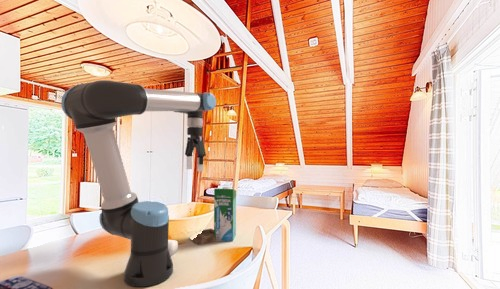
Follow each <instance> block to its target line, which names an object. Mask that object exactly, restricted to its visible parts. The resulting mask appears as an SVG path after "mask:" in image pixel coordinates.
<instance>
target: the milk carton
mask: <svg viewBox="0 0 500 289" xmlns="http://www.w3.org/2000/svg"><path fill="white" fill-rule="evenodd" d="M213 191H214V194H213V195H214V197H213V198H214V199H213V203H214V204H213V205H214V206H213V230H214V235H215V238H216V241H217V242H234V240H235V238H236V236H237V190H235V189H233V188H231V187H229V186H222V188H214V189H213ZM216 241H215V242H216Z"/></svg>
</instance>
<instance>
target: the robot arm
mask: <svg viewBox="0 0 500 289" xmlns="http://www.w3.org/2000/svg"><path fill="white" fill-rule="evenodd" d="M60 101H61V109H62V111H63V112H64V114H65V115H66V117H67V118H69V119H71V121H73V124H74V127H75V130H76V131H78V132H80V133H82V134H83V136H84V140H85V143H86V145H87V149H88V152H89V156H90V158H91V162H92V164H93V168H94V171H95V174H96V178H97V181H98V184H99V187H100V191H101V193H102V196H103V199H104V200H103V202H101V204H100V208H101V213H100V214H99V225H100V226H101V228H102V229H103V230H104V231H105V232H108V234H110V235H113V236H116V237H117V236H118V237H120V238H124V239H127V240H130V255H129V256H128V257H129V258H128V260H127V262H126V266H125V270H124V274H123V276H124V277H123V279H124V282H125V283H126V284H127V285H129V286H131V287H142V288H143V287H150V286H154V285H157V284H159V283H163V282H164V281H166V280H167V279H169V278H170V277H171V276H172V274H173V272H174V262H173V259H172V256H170V253H169V250H168V239H169V224H170V223H169V222H170V221H169V220H170V215H169V208H168V206H167V205H166V204H164V203H162V202H159V201H150V200H149V201H148V200H147V201H145V200H144V201H139V198H138V194H136V193H135V192H132V190H131V187H130V185H129V180H128V177H127V173H126V170H125V166H124V162H123V160H122V156H121V152H120V148H119V144H118V141H117V138H116V133H115V132H114V127H115V126H116V124H117V120H116V119H117V118H122V117H127V116H128V117H129V116H138V115H143V114H144V113H146V112H173V113H181V114H186V115H187V116H186V117H187V120H186V125H187V130H186V132H187V134H186V135H188V137H187V140H186V141H187V143H186V147H185V151H184V155H185V156H186V170H193V153H194V150H195V151H196V153H197V156H196V160H197V161H196V163H197V165H196V166H197V167H196V168H197V169H196V172H204V158H205V157H206V156H207V153H206V149H205V143H204V136H203V135H204V133H203V132H204V129H203V127H204V112H209V111H213V110H214V109H215V108H216V105H217V101H216V97H215V95H214V94H213V93H212V92H203V93H202V92H201V93H200V92H189V91H178V90H166V89H158V88H157V89H156V88H146V87H144V86H143V85H141V84H138V83H129V82H122V81H114V80H107V79H105V80H104V79H103V80H101V79H100V80H95V81H92V82H84V83H81V84H76V85H73V86H72V87H70V88H68V89H67V90H66V91H65V92H64V94H63V95H62V96H61V100H60Z"/></svg>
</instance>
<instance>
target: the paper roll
mask: <svg viewBox="0 0 500 289" xmlns="http://www.w3.org/2000/svg"><path fill="white" fill-rule="evenodd" d="M178 249H179V242H178V241H177V240H175V239H169V238H168V250H169V253H170V256H171V257H173V256H174V255H175V254H177V252H178Z"/></svg>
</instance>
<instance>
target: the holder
mask: <svg viewBox="0 0 500 289" xmlns="http://www.w3.org/2000/svg"><path fill="white" fill-rule="evenodd" d="M202 230H203V231H202V233H201V234H198V235H197V237H196V238H194V239H193V240H191V241H192V242H193V243H195V244H196V245H197V246H199V245H200V246H201V245H204V244H208V243H211V242H212V243H213V242H216V238H215V235H214V228H206V229H202Z"/></svg>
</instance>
